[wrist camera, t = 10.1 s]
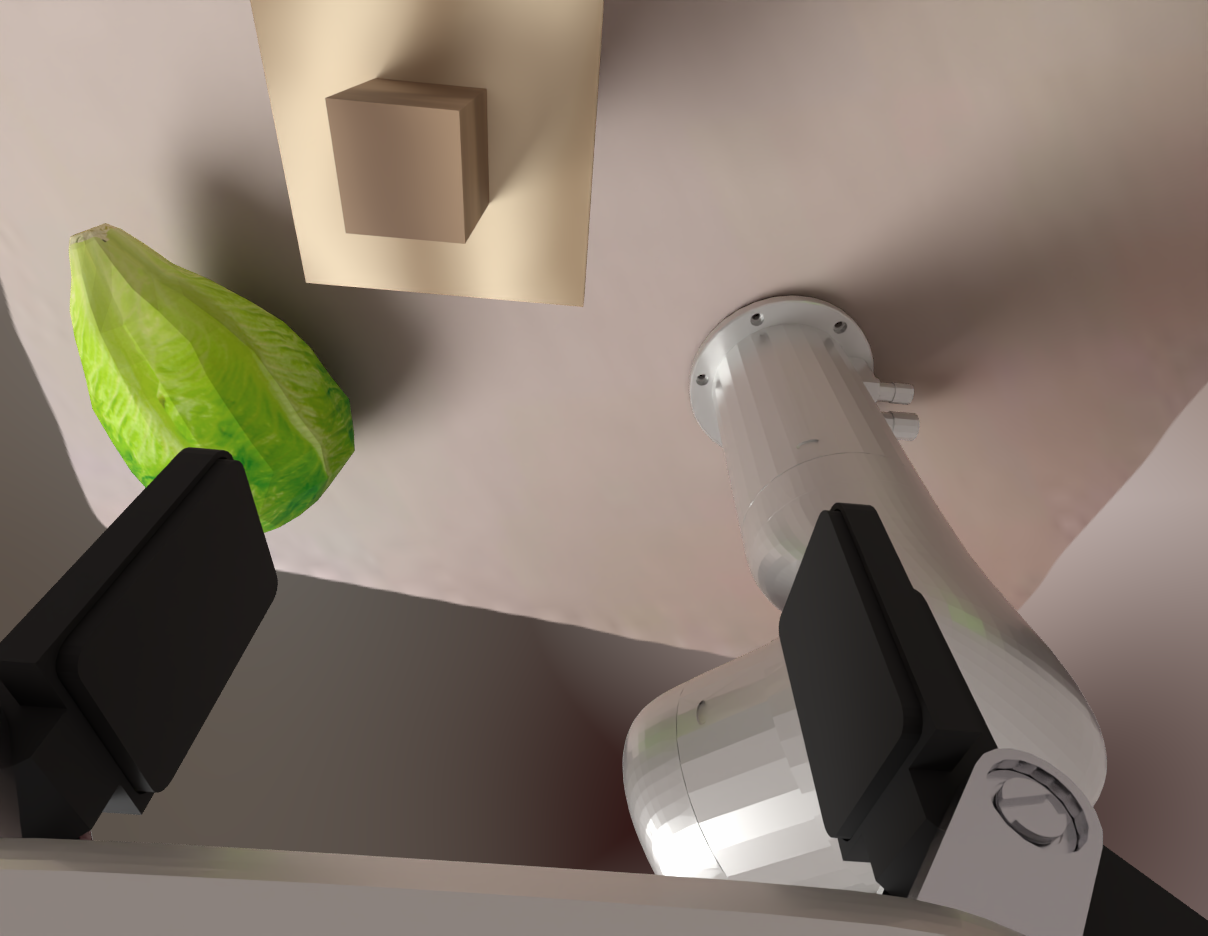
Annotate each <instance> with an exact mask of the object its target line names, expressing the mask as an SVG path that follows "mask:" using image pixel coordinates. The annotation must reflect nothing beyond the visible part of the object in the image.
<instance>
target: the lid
mask: <svg viewBox="0 0 1208 936" xmlns="http://www.w3.org/2000/svg"><path fill="white" fill-rule="evenodd" d="M250 2H251V7H252V12H253V17H254V22H255V27H256V32H257V38H258V43H259V48H260V53H261V58H262V63H263V68H264V73H265V78H266V83H267V88H268V93H269V98H270V103H271V108H272V113H273V118H274V123H275V128H276V133H277V138H278V144H279V149H280V154H281V159H282V164H283V169H284V174H285V179H286V184H287V189H288V194H289V199H290V204H291V209H292V214H293V219H294V224H295V229H296V234H297V239H298V245H299V250H300V255H301V260H302V265H303V270H304V275H305V280H306V283H315V284H326V285H338V286H349V287H361V288H372V289H384V290H395V291H407V292H418V293H430V294H441V295H453V296H464V297H476V298H487V299H499V300H510V301H522V302H533V303H545V304H556V305H568V306H580V307H583V303H584V294H585V279H586V264H587V249H588V234H589V219H590V204H591V189H592V174H593V159H594V144H595V129H596V114H597V99H598V84H599V69H600V54H601V39H602V24H603V9H604V0H250Z"/></svg>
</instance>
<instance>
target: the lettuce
mask: <svg viewBox="0 0 1208 936" xmlns="http://www.w3.org/2000/svg"><path fill="white" fill-rule="evenodd" d="M69 259H70V267H71V276H72V279H71V295H70V314H71V319H72V325H73V330H74V336H75V340H76V344H77V347H78V351H79V355H80V358H81V362H82V366H83V370H84V373H85V378H86V382H87V386H88V391H89V395H90V400H91V404H92V409H93V410H94V412H95V414H96V415H97V417H98V419H99V421H100V422H101V424H102V426H103V427H104V429H105V431H106V432H107V434H108V436H109V438H110V439H111V441H112V442H113V444H114V446H115V447H116V449H117V450H118V452H119V453H120V455H121V456H122V458H123V459H124V461H125V462H126V464H127V466H128V467H129V469H130V470H131V472H132V473H133V474H134V475H135V476H136V477H137V478H138V480H139V481H140V482H141V483H142V484H143V485H144V486H145V487H147V486H148V485H149V484H150V483H151V482H152V481H153V480H154V479H155V477H156V476H157V475H158V474H159V473H160V472H161V471H162V470H163V469H164V468H165V467H166V466H167V465H168V464H169V463H170V462H171V460H172V459H173V458H174V457H175V456H176V455H177V454H178V453H179V452H180V451H181V450H183V449H184V448H188V447H194V448H206V449H218V450H225V451H228V452H229V453H230V454H231V455H232V457H233V459H234V460H237V461H240V462H241V463H242V464H243V466H244V469H245V472H246V476H247V479H248V482H249V485H250V489H251V492H252V495H253V499H254V502H255V505H256V509H257V512H258V515H259V519H260V522H261V525H262V528H263V532H264V533H265V532H268V531H271V530H273V529H276V528H279V527H281V526H282V525H284V524H286V523H287V522H289V521H291V520H293V519H294V518H296V517H298V516H299V515H301V514H302V513H303V512H304V511H306V510H307V509H308V508H309V507H310V506H312V505H313V504H314V503H315V502H316V501H317V500H318V499H319V498H320V497H321V496H322V494H323V493H324V492H325V491H326V489H327V488H328V487H329V486H330V484H331V483H332V481H333V480H334V479H335V477H336V476H337V475H338V473H339V472H340V470H341V469H342V468H343V466H344V465H345V463H346V462H347V461H348V459H349V458H350V457H351V455H352V454H353V452H354V451H355V449H354V430H353V423H352V416H351V408H350V401H349V398H348V397H347V396H346V395H345V393H344V392H343V391H342V390H341V388H340V387H339V386H338V385H337V384H336V382H335V381H334V380H333V379H332V377H331V376H330V375H329V373H328V372H327V371H326V369H325V368H324V366H323V365H322V363H321V362H320V361H319V359H318V358H317V356H316V355H315V353H314V352H313V351H312V349H311V348H310V347H309V346H308V345H307V344H306V343H305V342H304V341H303V340H302V339H301V338H300V337H299V336H298V335H297V334H296V333H295V332H294V331H293V330H292V329H291V328H290V327H289V326H288V325H287V324H285V323H284V322H283V321H282V320H280V319H278V318H277V317H275V316H273V315H272V314H270V313H269V312H267V311H265V310H264V309H262V308H260V307H259V306H257V305H256V304H254V303H252V302H251V301H249V300H247V299H245V298H243V297H241V296H239V295H238V294H236V293H234V292H232V291H230V290H228V289H226V288H224V287H222V286H221V285H219V284H217V283H215V282H213V281H211V280H209V279H207V278H205V277H203V276H200V275H198V274H196V273H193V272H191V271H189V270H186V269H184V268H182V267H179V266H177V265H175V264H173V263H171V262H170V261H168V260H167V259H165V258H164V257H163V256H161V255H160V254H158V253H157V252H155V251H154V250H153V249H151V248H150V247H148V246H147V245H145V244H144V243H142V242H141V241H139V240H137V239H136V238H134V237H133V236H131V235H130V234H128V233H126V232H125V231H123V230H122V229H120V228H117V227H114V226H111V225H109V224H106V223H105V224H102V225H99V226H97V227H94V228H91V229H89V230H86V231H83V232H81V233H78V234H75V235H73V236H71V237H70V241H69Z"/></svg>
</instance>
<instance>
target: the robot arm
mask: <svg viewBox="0 0 1208 936" xmlns="http://www.w3.org/2000/svg"><path fill="white" fill-rule="evenodd" d="M757 313H759V314H758V316H757V317H752V316H753V315H754V314H757ZM837 322H840V323H839V324H837V325H835V324H836V323H837ZM702 374H704V375H703V376H699V375H702ZM689 395H690V402H691V407H692V410H693V413H694V416H695V418H696V420H697V422H698V424H699V425H700V427H701V429H702V430H703V431H704V432H705V433H706V434H707V435H708V436H709V438H710V439H711V440H713V441H714V442H715V443H717V444H718V445H719V446H721V447H722V448H723V451H724V456H725V460H726V465H727V470H728V475H729V479H730V484H731V489H732V493H733V498H734V503H735V508H736V512H737V517H738V522H739V526H740V531H741V536H742V540H743V545H744V550H745V554H746V559H747V562H748V565H749V568H750V571H751V574H752V576H753V578H754V580H755V582H756V584H757V585H758V587H759V588H760V590H761V591H762V592H763V594H764V595H765V596H766V597H767V598H768V600H769V601H770V602H771V603H772V604H773V605H774V606H775V607H777V608H778V609H779V610H780V611H782V614H781V617H780V621H779V638H777V639H774V640H773V641H771V642H770V643H769V644H767V645H765V646H763V647H760V648H758V649H756V650H754V651H752V652H749V653H747V654H745V655H743V656H741V657H738V658H736V659H734V660H732V661H730V662H728V663H725V664H723V665H721V666H719V667H717V668H714V669H712V670H710V671H708V672H706V673H703V674H701V675H699V676H697V677H695V678H692V679H691V680H689V681H687V682H685V683H683V684H681V685H679V686H677V687H675V688H673V689H671V690H669V691H667V692H665V693H664V694H662V695H660V696H659V697H658V698H656V699H654V700H653V701H652V702H651V703H649V704H648V705H647V706H646V707H645V708H644V709H643V710H642V711H641V712H640V713H639V715H638V716H637V717H636V719H635V720H634V722H633V724H632V726H631V728H630V730H629V732H628V735H627V738H626V742H625V747H624V754H623V779H624V787H625V793H626V798H627V802H628V807H629V811H630V814H631V817H632V821H633V824H634V827H635V830H636V832H637V835H638V837H639V840H640V842H641V845H642V847H643V849H644V852H645V854H646V856H647V858H648V860H649V862H650V865H651V867H652V869H653V871H654V873H655V875H651V874H637V873H636V874H635V873H622V872H608V871H607V872H606V871H593V870H579V869H563V868H549V867H534V866H519V865H503V864H488V863H472V862H457V861H441V860H425V859H409V858H394V857H378V856H362V855H346V854H329V853H314V852H297V851H296V852H295V851H280V850H264V849H247V848H230V847H213V846H196V845H180V844H163V843H141V842H117V841H93V840H92V834H91V829H92V827H93V826H94V824H95V823H96V821H97V819H98V818H99V816H100V815H101V813H102V812H107V813H123V814H138V815H141V814H142V813H143V812H144V810H145V808H146V806H147V804H148V803H149V801H150V800H151V798H152V796H153V794H154V793H155V792H161V791H163V790H164V789H165V788H166V787H167V786H168V785H169V783H170V782H171V780H172V779H173V777H174V775H175V773H176V772H177V770H178V768H179V766H180V765H181V763H182V761H183V759H184V758H185V756H186V754H187V752H188V750H189V749H190V747H191V745H192V743H193V741H194V740H195V738H196V736H197V734H198V733H199V731H200V729H201V727H202V726H203V724H204V722H205V720H206V719H207V717H208V715H209V713H210V711H211V710H212V708H213V706H214V704H215V703H216V701H217V699H218V697H219V696H220V694H221V692H222V690H223V688H224V687H225V685H226V683H227V681H228V679H229V678H230V676H231V674H232V672H233V670H234V669H235V667H236V665H237V663H238V662H239V660H240V658H241V657H242V654H243V653H244V651H245V649H246V648H247V646H248V644H249V642H250V641H251V639H252V637H253V635H254V633H255V632H256V630H257V628H258V626H259V625H260V623H261V621H262V619H263V618H264V615H265V614H266V612H267V610H268V608H269V607H270V605H271V603H272V602H273V600H274V597H275V595H276V591H277V585H278V582H277V581H278V580H277V575H276V571H275V568H274V565H273V562H272V558H271V555H270V552H269V548H268V545H267V542H266V538H265V535H264V532H263V528H262V525H261V522H260V519H259V515H258V512H257V509H256V505H255V502H254V499H253V495H252V492H251V489H250V485H249V482H248V479H247V476H246V472H245V469H244V466H243V464H242V463H241V462H240V461H237V460H234V459H233V457H232V455H231V454H230V453H229V452H228V451H225V450H218V449H206V448H194V447H188V448H184V449H183V450H181V451H180V452H179V453H178V454H177V455H176V456H175V457H174V458H173V459H172V460H171V462H170V463H169V464H168V465H167V466H166V467H165V468H164V469H163V470H162V471H161V472H160V473H159V474H158V475H157V476H156V477H155V479H154V480H153V481H152V482H151V483H150V484H149V485H148V486H147V487H146V488H145V489H144V490H143V491H142V492H141V493H140V495H139V496H138V497H137V498H136V499H135V500H134V501H133V502H132V503H131V504H130V505H129V506H128V507H127V508H126V509H125V510H124V512H123V513H122V514H121V515H120V516H119V517H118V518H117V519H116V520H115V521H114V522H113V523H112V524H111V525H110V526H109V527H108V529H107V530H106V531H105V532H104V533H103V534H102V535H101V536H100V537H99V538H98V539H97V540H96V542H94V543H93V545H92V546H91V547H90V548H89V549H88V550H87V551H86V552H85V553H84V554H83V555H82V556H81V557H80V558H79V559H78V561H77V562H76V563H75V564H74V565H73V566H72V567H71V568H70V569H69V570H68V571H67V572H66V573H65V574H64V575H63V576H62V578H61V579H60V580H59V581H58V582H57V583H56V584H55V585H54V586H53V587H52V588H51V589H50V590H49V591H48V592H47V594H46V595H45V596H44V597H43V598H42V599H41V600H40V601H39V602H38V603H37V604H36V605H35V606H34V607H33V609H31V611H30V612H29V613H28V614H27V615H26V616H25V617H24V618H23V619H22V620H21V621H20V622H19V623H18V624H17V625H16V627H15V628H14V629H13V630H12V631H11V632H10V633H9V634H8V635H7V636H6V637H5V638H4V639H3V640H2V641H1V642H0V936H1208V920H1206V919H1205V918H1203V917H1202V916H1201V915H1199V914H1198V913H1197V912H1195V911H1194V910H1192V909H1191V908H1190V907H1188V906H1187V905H1186V904H1184V903H1183V902H1181V901H1180V900H1179V899H1177V898H1176V897H1174V896H1173V895H1172V894H1170V893H1169V892H1168V891H1166V890H1165V889H1163V888H1162V887H1161V886H1159V885H1158V884H1156V883H1155V882H1154V881H1152V880H1151V879H1149V878H1148V877H1147V876H1145V875H1144V874H1143V873H1141V872H1140V871H1139V870H1137V869H1136V868H1134V867H1133V866H1132V865H1130V864H1129V863H1127V862H1126V861H1125V860H1123V859H1122V858H1120V857H1119V856H1118V855H1116V854H1115V853H1113V852H1112V851H1111V850H1109V849H1108V848H1107V847H1105V846H1104V845H1103V830H1102V828H1101V825H1100V822H1099V820H1098V816H1097V813H1096V812H1095V810H1094V808H1093V806H1094V804H1095V803H1096V801H1097V799H1098V798H1099V795H1100V793H1101V790H1102V788H1103V785H1104V781H1105V777H1106V772H1107V756H1106V751H1105V750H1106V749H1105V744H1104V741H1103V737H1102V733H1101V730H1100V727H1099V725H1098V722H1097V720H1096V717H1095V715H1094V713H1093V711H1092V710H1091V708H1090V706H1089V704H1088V703H1087V701H1086V699H1085V697H1084V696H1083V694H1082V692H1081V691H1080V689H1079V687H1078V685H1077V684H1076V682H1075V681H1074V679H1073V678H1072V677H1071V675H1070V674H1069V673H1068V671H1067V670H1066V669H1065V668H1064V666H1063V665H1062V664H1061V662H1060V661H1059V660H1058V659H1057V657H1056V656H1055V655H1054V653H1053V652H1052V651H1051V649H1050V648H1049V647H1048V646H1047V645H1046V643H1045V642H1044V641H1043V640H1042V639H1041V638H1040V637H1039V636H1038V635H1037V633H1036V632H1035V631H1034V630H1033V629H1032V628H1031V627H1030V626H1029V625H1028V623H1027V622H1026V621H1025V620H1024V619H1023V618H1022V616H1021V615H1020V614H1019V613H1018V612H1017V611H1016V610H1015V609H1014V607H1013V606H1012V605H1011V604H1010V603H1009V602H1008V601H1007V600H1006V598H1005V597H1004V596H1003V595H1002V594H1001V593H1000V592H999V590H998V589H997V588H996V587H995V586H994V585H993V584H992V582H991V581H990V580H989V579H988V577H987V576H986V575H985V574H984V572H983V571H982V570H981V568H980V567H979V566H978V565H977V563H976V562H975V561H974V560H973V558H972V557H971V556H970V555H969V553H968V552H967V550H966V549H965V547H964V546H963V544H962V543H961V541H960V540H959V538H958V537H957V535H956V534H955V532H954V531H953V529H952V528H951V526H950V525H949V523H948V522H947V520H946V519H945V517H944V516H943V514H942V513H941V511H940V510H939V508H938V506H937V505H936V503H935V501H934V500H933V498H932V496H931V495H930V493H929V491H928V490H927V488H926V486H925V485H924V483H923V482H922V480H921V478H920V477H919V475H918V473H917V472H916V470H915V468H914V467H913V465H912V463H911V462H910V460H909V458H908V457H907V455H906V453H905V452H904V450H903V448H902V446H901V445H900V443H899V441H898V440H907V441H912V440H914V439H915V438H916V436H917V434H918V431H919V427H920V426H919V418H918V415H916V414H915V413H905V412H894V411H889V412H881V411H880V410H879V408H878V406H877V405H876V402H877V401H884V402H889V403H895V404H906V405H908V404H910V403H911V401H912V400H913V396H914V388H913V385H911V384H904V383H893V382H892V383H882V382H880V381H879V379H878V378H875V376H874V362H873V356H872V352H871V348H870V345H869V343H868V341H867V339H866V337H865V335H864V333H863V332H862V330H861V329H860V328H859V326H858V325H857V323H856V322H855V321H854V320H853V319H852V318H851V317H850V316H849V315H848V314H846V313H845V312H844V311H843V310H841V309H840V308H838V307H836V306H834V305H832V304H830V303H829V302H826V301H823V300H819V299H816V298H813V297H805V296H795V295H791V296H780V297H772V298H768V299H765V300H761V301H757V302H754V303H752V304H750V305H748V306H746V307H743V308H741V309H739V310H737V311H736V312H734V313H733V314H731V315H730V316H728V317H727V318H726V319H724V320H723V321H722V322H721V323H720V324H719V325H717V326H716V327H715V328H714V329H713V330H712V331H711V332H710V333H709V335H708V336H707V338H706V339H705V340H704V342H703V343H702V344H701V346H700V347H699V350H698V352H697V354H696V356H695V358H694V360H693V363H692V367H691V371H690V375H689Z"/></svg>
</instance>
